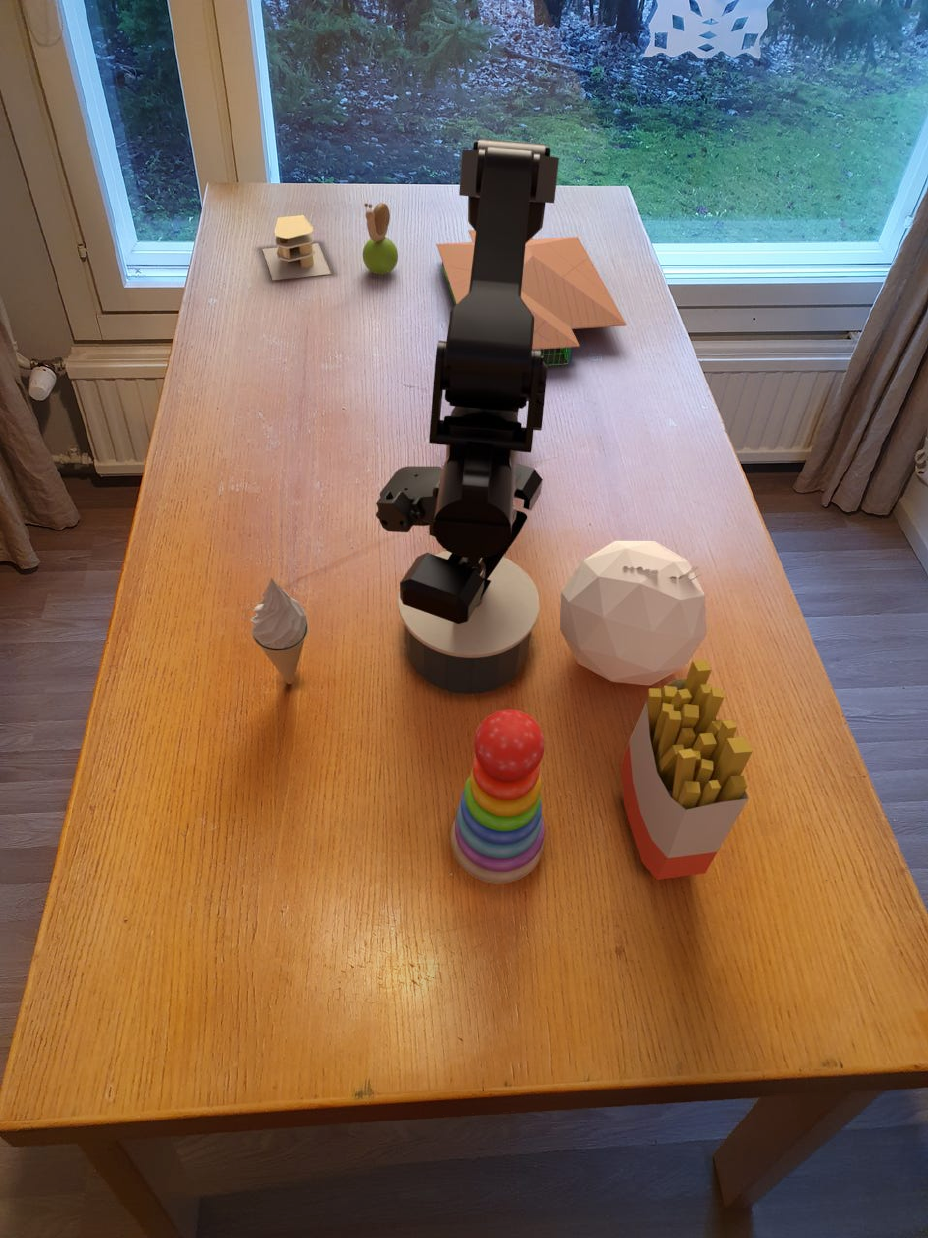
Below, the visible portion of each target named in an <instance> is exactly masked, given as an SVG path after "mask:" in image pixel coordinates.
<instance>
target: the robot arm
mask: <svg viewBox="0 0 928 1238" xmlns="http://www.w3.org/2000/svg"><path fill="white" fill-rule="evenodd" d="M546 145H547V144H546V143H535V142H525V141H523V142H522V141H510V140H501V139H500V140H499V139H487V138H478V140H475V141H474V142H473V147H472V149H462V150H461V159H460V160H461V163H460V175H459V177H460V178H459V192H458V196H460V197H467V222H468V224H469V225H470V226H471V228H472V230H475V231H476V236H475V245H474V253H473V262H472V271H471V279H470V287H469V293H468V294H467V295H466V296H465V297H464V298H463V299H462V300H461V301H460V302H459V303H458V304H457V305H456V306H455V305H454V306H453V307H452V309H451V310H450V312H449V320H448V325H447V326H448V327H447V332H446V333H447V334H446V340H438V341H437V344H436V352H435V361H434V374H433V376H434V377H433V387H432V401H431V402H432V403H431V412H430V413H431V414H430V425H429V436H428V437H429V440H428V443H429V444H431V445H443V446H445V461H444V463H443V465H442V467H440V466H411V465H410V466H409V465H408V466H404V467H401V468H399V469H397V470H396V471H395V472H394V474H393V475H392V476H391V478H390V479H389V480H388V481H387V483H386V484H385V486H384V487H383V488H382V490H381V491H380V493H379V498H378V500H377V501H376V503H375V504H376V507H377V511H376V513H375V517H376V518H377V519H378V520H379V523H380V525H381V527H382V529H384V531H387V532H390V533H391V532H394V533H409V532H410V531H411V529H412V527H414V526H415V527H427V526H428V527H429V531H428V533H429V536H431V537H434V538H435V540H436V542H437V543H438V544H439V545H440V546H441V548H443V549H444V550H445V551H448V552H450V553H452V554H451V555H450V557H449V559H448V560H447V559H444V558H441V557H438V556H435V554H432V553H429V552H425V553H423V554H421V555H418V556H417V557H416V558H415V560H413V562H412V564H411V565H410V567H409V568H408V570H407V572H406V573H405V574H404V576H403V578H402V579H401V581H400V582H399V589H400V598H401V600H402V603H403V604H404V605H407V606H409V607H412V608H415V609H418V610H421V611H423V612H426V613H429V614H432V615H434V616H437V617H440V618H443V619H445V620H448V621H451V622H454V623H457V624H461V623H465V622H468V620H469V618H470V616H471V615H472V613H473V611H474V609H475V608H476V606H477V604H478V603H479V602H480V601H481V599H482V597H483V595H484V594H485V592H486V590H487V588H488V587H489V585H490V583H491V580H488V578H489V576H490V575H491V573H492V572H493V571H494V569H495V568H496V566H497V565H498V563H499V562H500V560H501V559H502V557H505V555H506V553H507V552H508V550H509V549H510V548H511V546H512V544H513V543H514V542H515V540H516V539H517V537H518V536H519V534H520V533H521V531H522V529H523V527H524V526H525V524H526V522H527V521H528V514H527V513H525V512H523V511H521V510H518V509H516V508H515V504H514V502H515V498H516V499H519V500H523V506H522V508H523V509H525V510H528V511H532V510H533V508H534V507H535V505H536V503H537V502H538V499H539V497H540V496H541V494H542V487H543V477H541V475H540V474H539V473H538V471H537V470H536V468H533V467H529V466H526V465H523V464H520V463H517V457H518V452H520V453H521V452H522V453H532V450H533V441H534V431H541V432H542V430H543V429H542V428H543V420H544V411H545V400H546V399H545V398H546V389H547V378H548V367H549V366H548V365H547V363H546V362H545V361H544V355H542V350H539V349H532V345H533V332H534V316H533V315H532V313H531V312H530V310H529V309H528V307H527V306H526V304H525V303H524V301H523V300H522V298H521V289H522V278H523V267H524V256H525V245H526V243H527V242H528V241H529V240H530V239H531V238H534V237H535V236H536V235H537V234H538V233H539V232H540V231H541V230H542V229H543V227H544V219H545V212H546V204H555V199H556V190H557V182H558V174H559V173H558V172H559V164H560V157H558V156H557V157H556V156H551V148H550V147H549V146H546ZM443 393H444V400H445V401H446V402H447V403H448V405H449V407H453V409H452V410H451V412H450V415H445V416H444V417H443V419H441V412H442V403H443V402H442V401H443ZM525 407H527V414H526V424H525V425H526V426H525V427H523V426H522V422H521V421H519V418H518V417H519V411H520V409H521V410H523V409H524V408H525ZM481 560H482V561H483V562H484V564H485V578H482V577H481V575H482V573H483V567H482V565H481V564H480V562H481Z"/></svg>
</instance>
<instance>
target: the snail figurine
mask: <svg viewBox="0 0 928 1238" xmlns="http://www.w3.org/2000/svg"><path fill="white" fill-rule="evenodd" d="M363 205H364V207H365V219H366V227H367V232H368V236H369V238H370V239H369V240H368V241H366V243H365V244H364V246H363V249H362V261H363V263H364V265H365V267H366V269H368V270H369V271H370V272H371V273H373V274H375V275H378V276H379V275H380V276H381V275H383V276H384V275H386V274H389V273H390V272H392V271H393V270H394V269H395V268H396V266H397V264H398V261H399V252H398V248H397V246H396V244H395V243H394V241H392V240H391V239H390V238H388V237H386V236H387V234H388V227H389V225H390V221H391V220H390V219H391V212H390V208H389V206H388V205H387V204H386V203H384V202H380V203H378V204H377V205H375V207H374V209H373V210H372V208H373V204H371V203H369V204H368V202H365V203H364V204H363ZM367 208H369V209H367Z"/></svg>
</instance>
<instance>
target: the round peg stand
mask: <svg viewBox="0 0 928 1238" xmlns="http://www.w3.org/2000/svg"><path fill="white" fill-rule="evenodd" d="M451 554H452V553H450V552H448V551H447V550H445V551H441V552H438V553H435V554H434V555H435V556H438V557H441V558H444V559H447V560H448V559H449V557H450V555H451ZM480 564H481V565H482V567H483V573H482V575H481V577H482V578H485V564H484V562H483V561H482V560H481V562H480ZM488 580H491V583H490V585H489V587H488V588H487V590H486V592H485V594H484V595H483V597H482V599H481V601H480V602H479V603H478V604H477V606H476V608H475V609H474V611H473V613H472V615H471V616H470V618H469V620H468V622H465V623H461V624H457V623H454V622H451V621H448V620H445V619H443V618H440V617H437V616H434V615H432V614H429V613H426V612H423V611H421V610H418V609H415V608H412V607H409V606H407V605H404V604H403V603H402V600H401V598H400V588H399V589H398V594H397V607H398V613H399V615H400V618H401V620H402V623H403V624H404V627H405V626H406V628H407V629H408V630H409V632H410V633H411V634H412V635H413V636H414V637H415V638H416V639H417V640H419V641H420V642H421V643H423V644H424V645H426V646H428V647H429V648H431V649H434V650H436V651H438V652H441V653H444V654H447V655H451V656H456V657H465V658H479V657H487V656H491V655H496V654H499V653H502V652H505V651H507V650H509V649H511V648H513V647H514V646H516V645H517V644H519V643H520V642H521V641H522V640H524V639H525V638H526V637H527V636H528V634H529V633H530V632H531V633H532V631H533V629H534V628H535V626H536V624H537V621H538V618H539V614H540V605H541V604H540V595H539V592H538V589H537V586H536V585H535V583H534V581H533V580H532V578H531V577H530V575H529V574H528V573H527V572H526V571H525V570H524V569H523V568H521V567H520V565H518V564H517V563H515V562H513V561H512V560H511V559H509V558H507V557H505V556H503V557H502V559H501V560H500V562H499V563H498V565H497V566H496V568H495V569H494V571H493V572H492V573H491V575H490V576H489V578H488Z"/></svg>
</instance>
